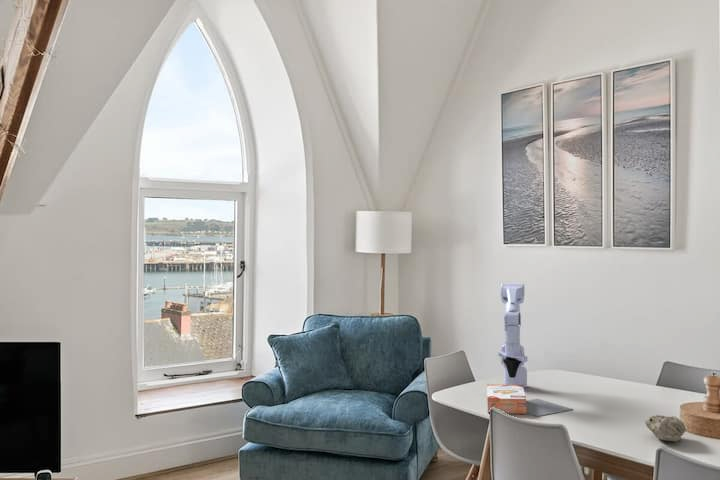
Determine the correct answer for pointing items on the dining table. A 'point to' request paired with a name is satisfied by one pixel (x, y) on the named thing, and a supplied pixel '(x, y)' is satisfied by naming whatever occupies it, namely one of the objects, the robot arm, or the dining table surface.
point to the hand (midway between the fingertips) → (512, 377)
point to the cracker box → (507, 398)
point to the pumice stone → (666, 427)
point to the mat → (543, 407)
